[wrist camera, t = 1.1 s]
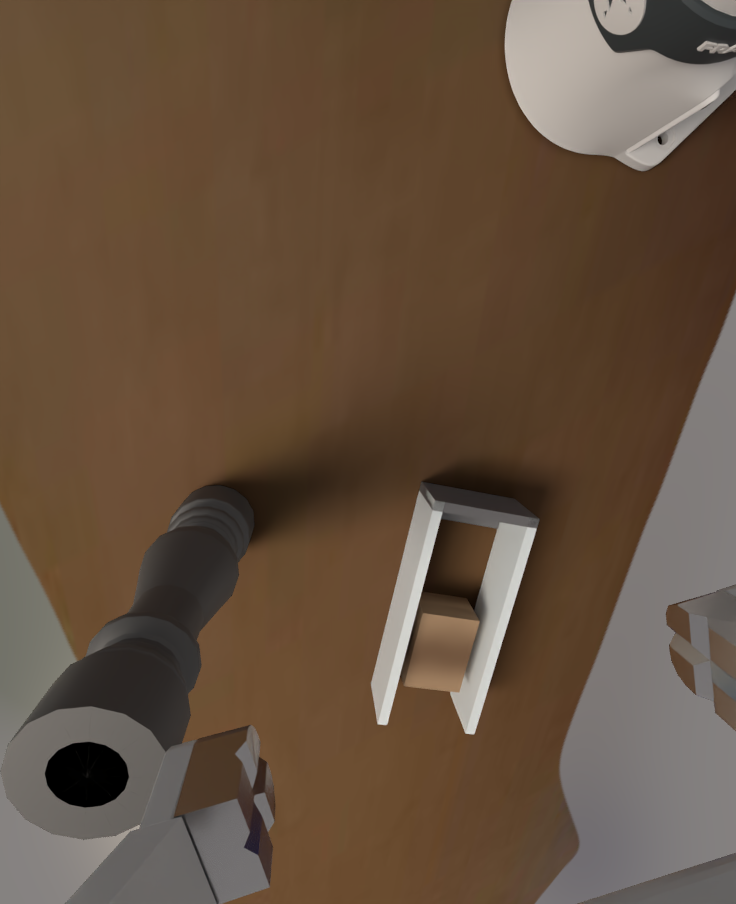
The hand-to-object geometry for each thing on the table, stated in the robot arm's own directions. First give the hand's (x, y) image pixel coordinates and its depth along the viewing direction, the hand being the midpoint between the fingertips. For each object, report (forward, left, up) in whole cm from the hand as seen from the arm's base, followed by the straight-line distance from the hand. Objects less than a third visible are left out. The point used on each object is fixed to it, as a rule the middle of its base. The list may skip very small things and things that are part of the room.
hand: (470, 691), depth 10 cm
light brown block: (+4, +21, -33) cm, 39 cm away
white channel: (+2, +18, -33) cm, 38 cm away
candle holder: (+14, +1, -33) cm, 36 cm away
